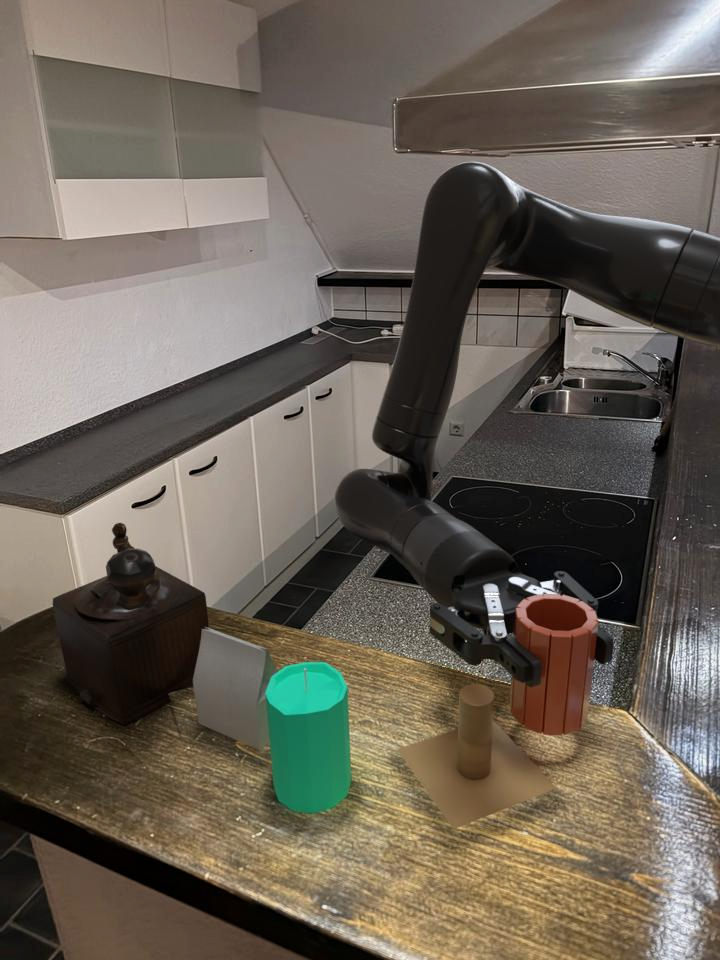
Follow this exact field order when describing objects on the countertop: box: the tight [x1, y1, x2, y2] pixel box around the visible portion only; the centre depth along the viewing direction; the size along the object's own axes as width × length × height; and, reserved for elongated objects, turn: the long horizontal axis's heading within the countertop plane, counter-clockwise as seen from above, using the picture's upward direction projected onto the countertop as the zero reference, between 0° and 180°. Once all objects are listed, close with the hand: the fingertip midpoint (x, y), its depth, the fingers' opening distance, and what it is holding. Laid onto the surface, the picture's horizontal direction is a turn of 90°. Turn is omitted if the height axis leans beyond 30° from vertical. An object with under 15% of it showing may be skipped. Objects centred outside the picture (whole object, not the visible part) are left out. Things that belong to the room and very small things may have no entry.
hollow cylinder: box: [509, 594, 599, 737], centre depth 60 cm, size 6×6×9 cm
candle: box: [265, 661, 352, 814], centre depth 57 cm, size 6×6×12 cm
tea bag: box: [193, 627, 279, 751], centre depth 64 cm, size 4×7×10 cm, turn 59°
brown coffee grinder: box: [52, 522, 210, 726], centre depth 69 cm, size 16×11×18 cm
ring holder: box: [397, 683, 557, 830], centre depth 59 cm, size 9×9×8 cm
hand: (573, 664), depth 57 cm, fingers closed on hollow cylinder, 6 cm apart
